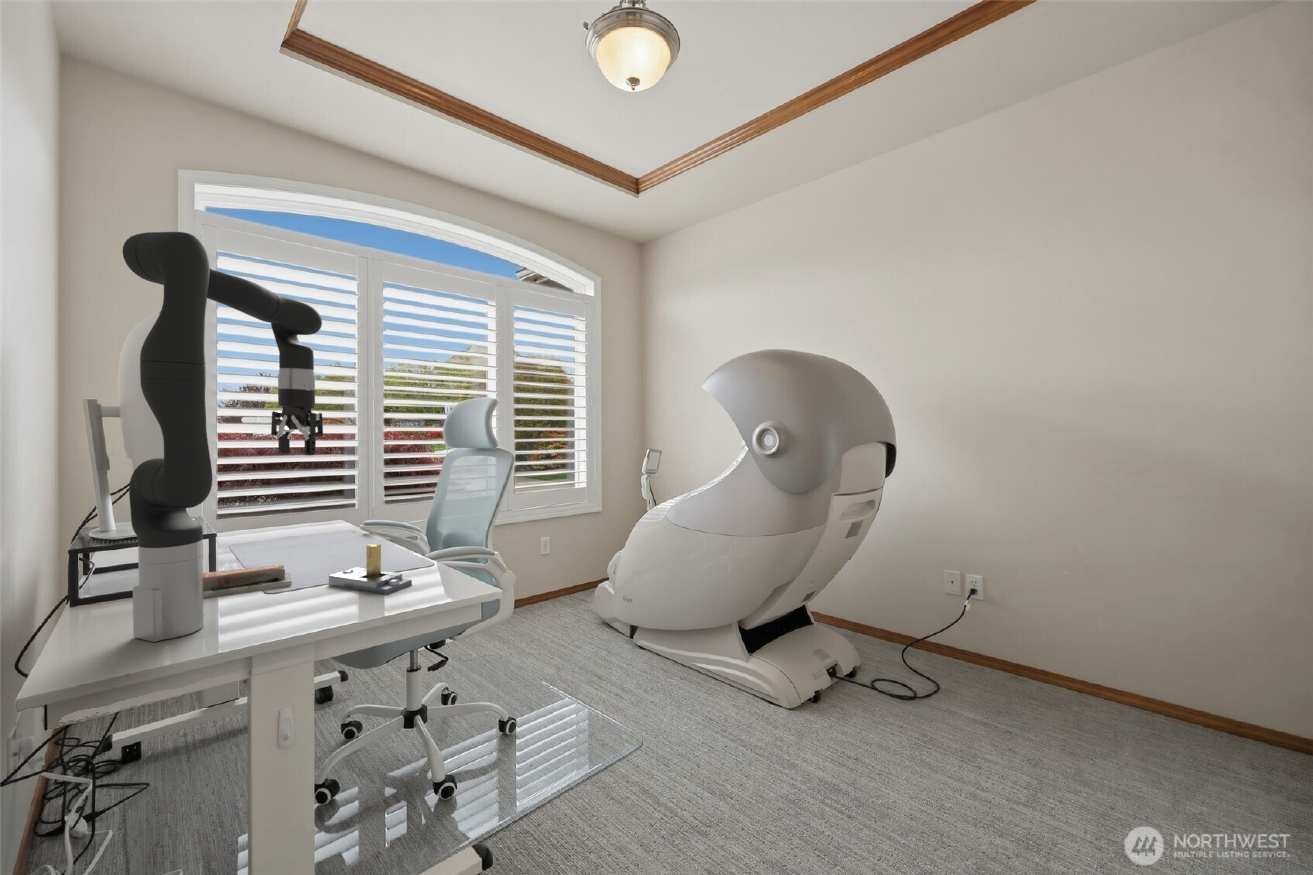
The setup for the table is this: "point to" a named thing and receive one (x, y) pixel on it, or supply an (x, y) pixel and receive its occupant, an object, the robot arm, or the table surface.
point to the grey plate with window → (369, 581)
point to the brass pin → (373, 561)
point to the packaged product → (244, 580)
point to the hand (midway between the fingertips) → (297, 454)
